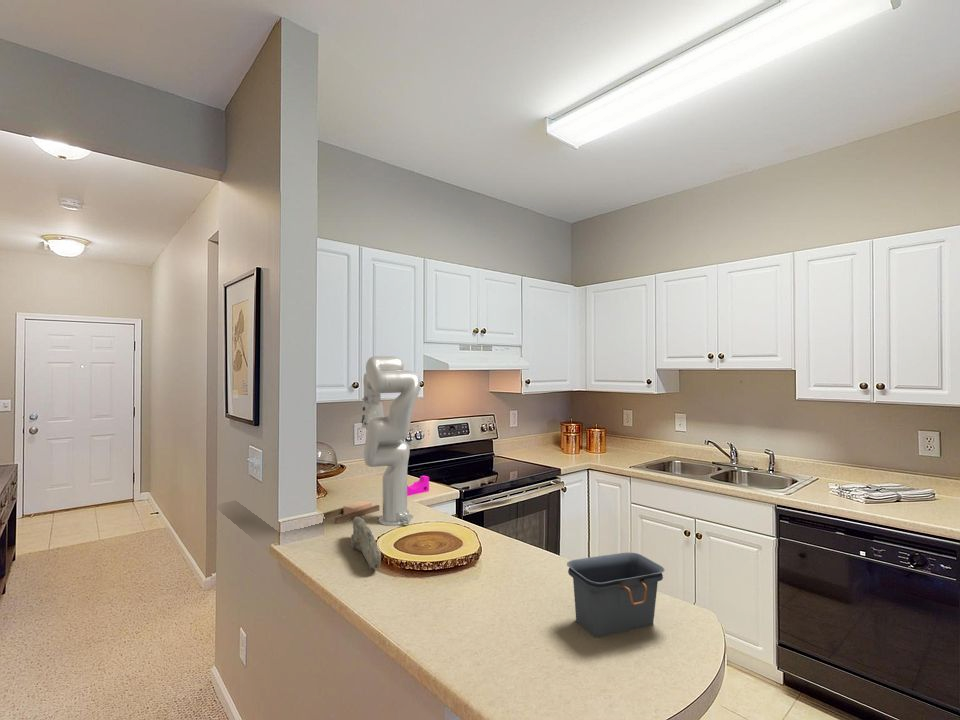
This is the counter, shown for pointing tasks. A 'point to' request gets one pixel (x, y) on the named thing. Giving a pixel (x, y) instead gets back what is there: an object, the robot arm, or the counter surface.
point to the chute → (350, 515)
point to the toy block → (419, 486)
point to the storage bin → (614, 592)
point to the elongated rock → (365, 542)
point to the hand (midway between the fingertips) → (372, 439)
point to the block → (356, 506)
